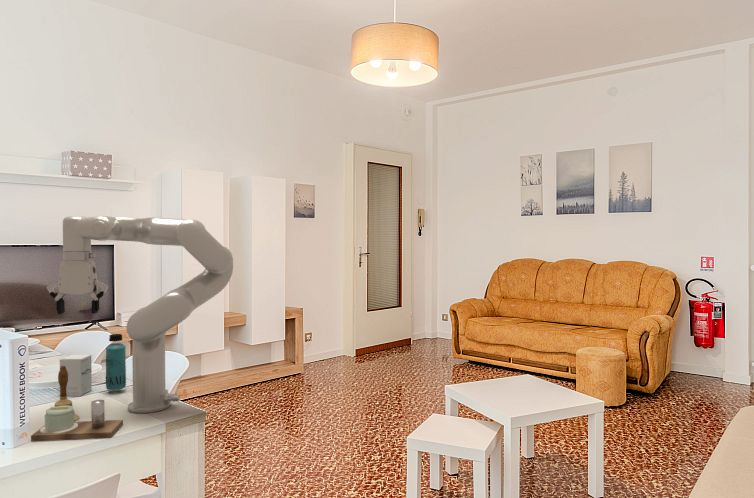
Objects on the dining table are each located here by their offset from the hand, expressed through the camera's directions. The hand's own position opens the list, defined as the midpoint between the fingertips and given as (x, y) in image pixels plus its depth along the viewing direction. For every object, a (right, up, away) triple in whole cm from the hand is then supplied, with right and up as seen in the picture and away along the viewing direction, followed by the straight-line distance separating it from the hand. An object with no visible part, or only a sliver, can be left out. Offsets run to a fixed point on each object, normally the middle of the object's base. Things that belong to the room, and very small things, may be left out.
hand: (78, 313), depth 170 cm
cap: (+4, -29, -18) cm, 34 cm away
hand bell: (-1, -31, -7) cm, 32 cm away
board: (+9, -31, -17) cm, 36 cm away
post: (+14, -29, -16) cm, 37 cm away
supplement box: (-12, -30, +21) cm, 38 cm away
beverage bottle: (+1, -30, +22) cm, 37 cm away
